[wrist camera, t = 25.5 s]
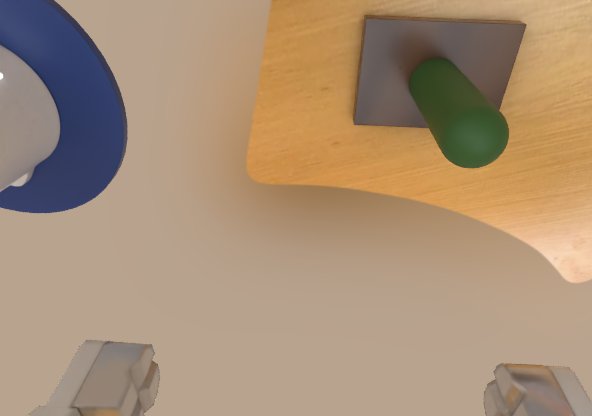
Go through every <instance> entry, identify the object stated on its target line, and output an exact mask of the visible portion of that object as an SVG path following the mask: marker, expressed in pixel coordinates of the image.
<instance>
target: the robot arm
mask: <svg viewBox="0 0 592 416" xmlns="http://www.w3.org/2000/svg"><path fill="white" fill-rule="evenodd" d="M59 137H60V118H59V114H58V110H57V107H56V104H55V102H54V100H53V98H52V96H51V94H50V92H49V90H48V89H47V87H46V85H45V84H44V83H43V81H42V80H41V79H40V77H39V76H38V75H37V74H36V73H35V72H34V70H33V69H32V68H31V67H30V66H29V65H28V64H26V63H25V62H24V61H23V60H22V59H21V58H19V57H18V56H17V55H15V54H14V53H13V52H11V51H10V50H8V49H7V48H5V47H3V46H2V45H0V192H1V191H2V190H4V189H5V188H7V187H8V186H10V185H11V186H22V185H24V184H25V183H27V182H28V181H29V180H30V179H31V177H32V174H33V172H34V169H35V167H36V166H37V165H38V164H39V163H40V162H42V161H43V160H45V159H46V158H47V157H49V156H50V155H51V154H52V152H53V151H54V150H55V148H56V146H57V144H58V141H59ZM154 354H155V353H154V350H153V346H152V344H138V343H123V342H110V341H97V340H86V341H85V342H84V343H83V344H82V345H81V346H80V347H79V349H78V351H77V352H76V354H75V356H74V358H73V359H72V361H71V363H70V365H69V366H68V368H67V370H66V372H65V374H64V375H63V377H62V379H61V380H60V382H59V384H58V386H57V387H56V389H55V391H54V393H53V394H52V396H51V398H50V400H49V401H48V403H47V405H46V406H38V407H37V408H36V409H34V410H33V411H32V412H31V413H29V414H28V415H27V416H144V413H145V412H146V411H147V410H148V409H149V408H151V407H152V406H153V405H154V402H155V399H156V396H157V392H158V387H159V380H160V375H159V368H158V364H156V363H155V362H153V361H152V359H153V356H154ZM494 375H495V378H496V379H495V380H493V381H492V382H490V383H488V384H487V387H486V390H485V392H484V408H485V413H486V416H592V402H591V400H590V399H589V397H588V395H587V393H586V392H585V390H584V388H583V386H582V385H581V383H580V381H579V379H578V378H577V376H576V374H575V373H574V372H573V371H572V370H571V369H570V368H568V367H559V366H543V365H527V364H499V365H498V366H497V367H496V369H495V370H494Z"/></svg>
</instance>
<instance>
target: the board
mask: <svg viewBox="0 0 592 416" xmlns="http://www.w3.org/2000/svg"><path fill="white" fill-rule="evenodd" d="M525 28H526V24H524V23H522V22H520V21H500V20H474V19H448V18H423V17H397V16H371V15H365V16H364V24H363V33H362V42H361V51H360V60H359V69H358V78H357V87H356V96H355V104H354V113H353V122H354V125H374V126H397V127H419V128H429V127H428V125H427V123H426V122H425V120H424V118H423V116H422V114H421V112H420V110H419V109H418V107H417V105H416V103H415V101H414V99H413V97H412V96H411V93H410V89H409V82H410V78H411V76H412V74H413V72H414V70H415V69H416V68H417V67H418V66H419V65H420V64H421V63H423V62H425V61H426V60H429V59H432V58H445V59H447V60H449V61H451V62H452V63H453V64H454V65H455V66H456V67H457V68H458V69H459V70H460V71H461V72H462V73H463V74H464V75H465V76H466V77H467V78H468V79H469V80H470V81H471V82H472V83H473V84H474V85H475V86H476V87H477V88H478V89H479V90H480V92H481V93H482V94H483V95H484V96H485V97H486V98H487V99H488V100H489V101H490V102H491V103H492V104H493V105H494V106H495V107H496V108H497V109H498V110H499V109H500V106H501V103H502V100H503V97H504V93H505V90H506V87H507V84H508V81H509V78H510V75H511V72H512V69H513V65H514V62H515V59H516V56H517V53H518V50H519V47H520V44H521V40H522V37H523V34H524V31H525Z"/></svg>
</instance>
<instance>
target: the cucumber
mask: <svg viewBox="0 0 592 416" xmlns="http://www.w3.org/2000/svg"><path fill="white" fill-rule="evenodd" d="M409 89H410V93H411V96H412V97H413V99H414V101H415V103H416V105H417V107H418V109H419V110H420V112H421V114H422V116H423V118H424V120H425V122H426V123H427V125H428V127H429V129H430V131H431V133H432V134H433V136H434V138H435V140H436V142H437V144H438V146H439V147H440V149H441V151H442V153H443V154H444V156H445V157H446V158H447V159H448V160H449V161H450V162H452V163H453V164H455V165H457V166H460V167H464V168H479V167H483V166H486V165H488V164H490V163H492V162H493V161H494V160H496V159H497V158H498V157H499V156H500V155H501V154H502V152H503V151H504V149H505V147H506V145H507V142H508V138H509V128H508V124H507V121H506V119H505V117H504V116H503V115H502V113H501V112H500V111H499V110H498V109H497V108H496V107H495V106H494V105H493V104H492V103H491V102H490V101H489V100H488V99H487V98H486V97H485V96H484V95H483V94H482V93H481V92H480V90H479V89H478V88H477V87H476V86H475V85H474V84H473V83H472V82H471V81H470V80H469V79H468V78H467V77H466V76H465V75H464V74H463V73H462V72H461V71H460V70H459V69H458V68H457V67H456V66H455V65H454V64H453V63H452V62H451V61H449V60H447V59H445V58H432V59H429V60H426V61H425V62H423V63H421V64H420V65H419V66H418V67H417V68H416V69H415V70H414V72H413V74H412V76H411V78H410V82H409Z"/></svg>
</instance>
